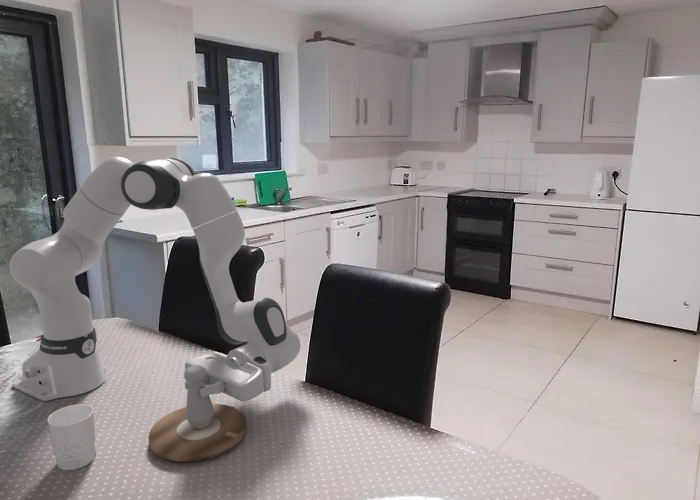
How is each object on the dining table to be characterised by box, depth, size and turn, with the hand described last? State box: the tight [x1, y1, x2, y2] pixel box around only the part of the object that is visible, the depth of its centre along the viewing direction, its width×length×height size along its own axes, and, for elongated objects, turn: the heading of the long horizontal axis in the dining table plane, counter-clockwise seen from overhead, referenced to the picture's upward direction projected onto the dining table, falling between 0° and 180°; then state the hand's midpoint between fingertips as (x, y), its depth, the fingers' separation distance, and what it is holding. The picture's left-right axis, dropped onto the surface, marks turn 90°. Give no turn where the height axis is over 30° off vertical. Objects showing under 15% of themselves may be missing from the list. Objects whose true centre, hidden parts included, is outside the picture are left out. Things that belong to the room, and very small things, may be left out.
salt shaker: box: [183, 365, 214, 429], centre depth 106 cm, size 6×6×13 cm
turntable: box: [148, 403, 248, 462], centre depth 108 cm, size 20×20×1 cm
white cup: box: [46, 403, 97, 471], centre depth 99 cm, size 8×8×10 cm
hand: (193, 389), depth 105 cm, fingers closed on salt shaker, 3 cm apart
